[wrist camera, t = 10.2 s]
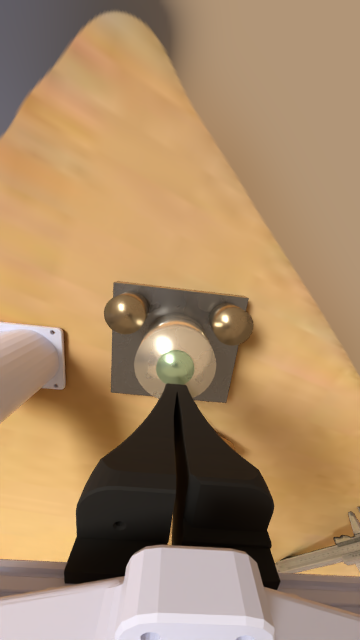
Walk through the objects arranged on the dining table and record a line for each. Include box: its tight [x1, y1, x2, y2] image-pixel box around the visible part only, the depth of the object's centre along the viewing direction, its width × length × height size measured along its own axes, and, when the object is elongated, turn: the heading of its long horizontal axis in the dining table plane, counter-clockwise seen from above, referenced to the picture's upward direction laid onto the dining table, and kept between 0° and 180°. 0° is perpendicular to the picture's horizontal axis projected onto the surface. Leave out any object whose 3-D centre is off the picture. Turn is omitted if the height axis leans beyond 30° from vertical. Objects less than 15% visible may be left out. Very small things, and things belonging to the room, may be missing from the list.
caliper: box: [275, 507, 360, 573], centre depth 30 cm, size 20×1×6 cm, turn 142°
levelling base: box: [104, 281, 253, 403], centre depth 21 cm, size 17×25×7 cm
